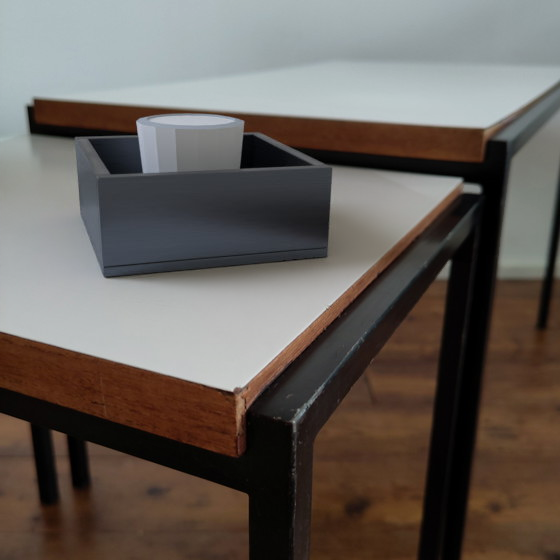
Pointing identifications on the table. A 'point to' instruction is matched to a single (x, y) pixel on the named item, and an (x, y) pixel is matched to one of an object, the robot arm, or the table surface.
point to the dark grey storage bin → (201, 208)
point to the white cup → (189, 142)
